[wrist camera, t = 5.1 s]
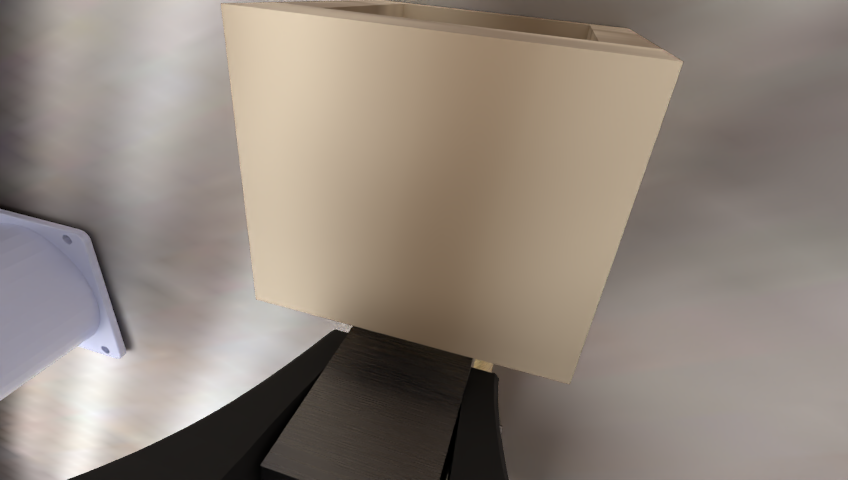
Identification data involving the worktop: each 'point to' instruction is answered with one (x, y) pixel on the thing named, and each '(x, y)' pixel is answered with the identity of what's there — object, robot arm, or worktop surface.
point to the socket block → (441, 168)
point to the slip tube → (376, 414)
